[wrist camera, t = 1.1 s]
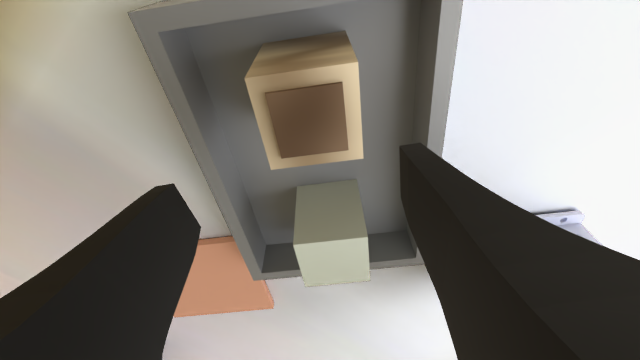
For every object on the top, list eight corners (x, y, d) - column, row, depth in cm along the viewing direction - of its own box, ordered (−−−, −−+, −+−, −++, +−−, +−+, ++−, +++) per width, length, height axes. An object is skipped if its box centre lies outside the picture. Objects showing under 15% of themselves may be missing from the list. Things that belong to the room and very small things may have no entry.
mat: (244, 234, 23) (243, 240, 23) (274, 302, 29) (273, 308, 29) (124, 247, 24) (120, 253, 23) (177, 311, 30) (174, 317, 30)
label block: (345, 30, 14) (358, 63, 10) (351, 108, 17) (364, 160, 12) (263, 43, 14) (243, 80, 10) (280, 118, 17) (270, 172, 13)
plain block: (356, 179, 20) (368, 236, 16) (360, 221, 22) (370, 280, 18) (297, 186, 20) (292, 244, 16) (306, 227, 22) (305, 286, 18)
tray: (440, -45, 13) (469, -45, 10) (415, 232, 23) (426, 263, 21) (160, 1, 14) (127, 12, 11) (259, 248, 24) (253, 280, 22)
